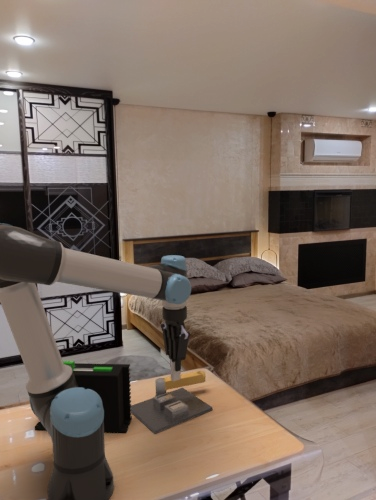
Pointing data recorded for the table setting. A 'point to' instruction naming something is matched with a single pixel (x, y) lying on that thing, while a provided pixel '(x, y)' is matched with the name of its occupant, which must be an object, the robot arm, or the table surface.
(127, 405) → the electronic device
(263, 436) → the table surface
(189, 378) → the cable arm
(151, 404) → the chassis plate
